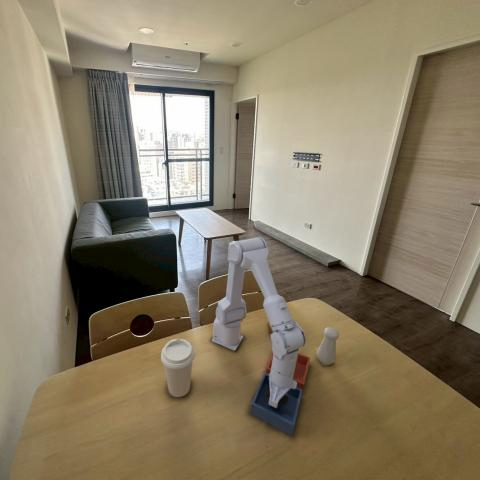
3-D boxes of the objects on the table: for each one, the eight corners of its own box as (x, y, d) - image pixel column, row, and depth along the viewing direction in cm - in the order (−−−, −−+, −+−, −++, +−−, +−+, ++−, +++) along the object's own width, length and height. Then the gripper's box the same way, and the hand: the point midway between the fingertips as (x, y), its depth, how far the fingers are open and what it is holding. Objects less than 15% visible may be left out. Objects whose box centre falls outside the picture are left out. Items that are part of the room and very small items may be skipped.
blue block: (267, 407, 70) (269, 395, 68) (271, 395, 73) (273, 383, 71) (281, 414, 68) (284, 402, 66) (285, 402, 71) (287, 390, 69)
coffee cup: (199, 378, 78) (199, 341, 73) (187, 407, 70) (186, 367, 64) (172, 369, 81) (170, 333, 76) (157, 396, 73) (153, 357, 67)
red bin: (265, 377, 79) (266, 368, 78) (274, 352, 88) (276, 344, 87) (301, 394, 74) (304, 384, 73) (308, 366, 83) (310, 357, 82)
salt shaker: (330, 354, 88) (338, 325, 83) (336, 368, 82) (345, 337, 78) (313, 353, 88) (320, 323, 83) (318, 366, 83) (326, 336, 78)
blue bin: (250, 413, 69) (251, 403, 67) (263, 381, 78) (264, 372, 76) (292, 436, 64) (294, 426, 62) (300, 399, 73) (302, 389, 71)
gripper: (292, 396, 57) (285, 434, 62) (304, 352, 69) (297, 387, 74) (262, 382, 60) (257, 419, 65) (278, 343, 72) (273, 377, 77)
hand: (277, 401), depth 70 cm, fingers closed on blue block, 4 cm apart
